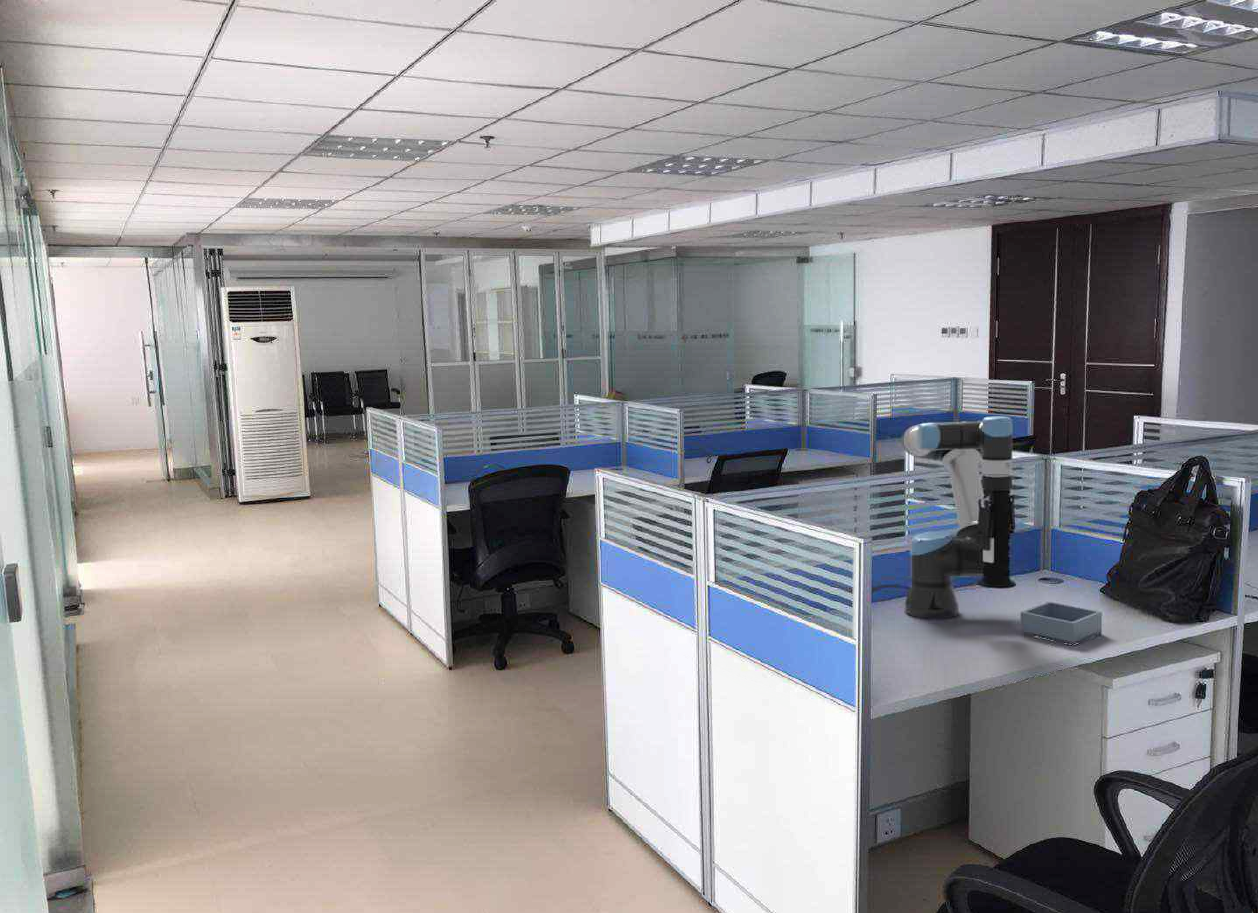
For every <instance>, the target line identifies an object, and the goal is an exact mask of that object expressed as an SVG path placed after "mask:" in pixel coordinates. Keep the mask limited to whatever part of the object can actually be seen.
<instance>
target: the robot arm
mask: <svg viewBox="0 0 1258 913" xmlns="http://www.w3.org/2000/svg"><path fill="white" fill-rule="evenodd" d="M1013 433H1014V429H1013V419H1012V418H1011V417H1009V416H1001V415H1000V416H998V415H997V416H995V415H994V416H986V417H984V418H983V419H981V420H979V421H965V420H964V421H963V420H962V421H953V422H952V421H950V422H925V423H920V424H916V425H913V426H910V427H909V428H908V429H906V430H905V431H904V433H903V434H902V439H901V442H902V443H901V444H902V447H903V448H904V451H906V452H907V453H908V454H909V455H911V456H912V457H915V458H917V459H923V460H941V463H942V465H943V467H944V468H945V469H947V470H948V473H949V479H950V484H951V490H952V494H953V495H952V496H953V500H954V505H955V506H954V507H955V511H956V515H957V516H956V517H957V518H956V519H957V522H958V528H959V529H958V530H957V531H956V532H955V536H954V535H953V533H952V532H951V531H947V530H932V531H925V532H922V533H918V534H916V535H915V536H913V537H912V539H911V541H910V550H909V554H910V586H909V589H908V592H907V596H906V598H905V601H904V612H905V613H906V614H908V615H909V616H912V617H917V618H921V619H922V618H923V619H933V620H937V619H938V620H940V619H941V620H942V619H948V618H953V617H956V616H958V615H959V614H960V608H959V606H960V605H959V603H958V600H957V597H956V594H955V591H954V589H953V578H968V577H969V578H972V577H973V578H974V577H975V578H978V577H979V578H982V577H983V576H984V575H983V568H984V566H983V563H984V562H990V563H993V562H994V538H992V534H993V529H994V524H995V521H994V519H995V513H996V511H997V509H996V510H994V511H993V515H992V512H990V504H989V502H990V503H991V505H992V504H993V505H994V494H993V492H995V491H1008V490H1010V491H1011V490H1012V488H1013V476H1012V475H1011V474H1012V473H1013V460H1012V459H1013ZM980 462H981V474H983V475H982V476H980V471H979V466H978V464H979V463H980ZM983 490H986V495H985V499H983V497H984V492H983ZM1009 496H1010V506H1011V507H1010V520H1009V521H1010V528H1009V529H1010V532H1009V533H1010V535H1012V534H1014V533H1015V530H1016V518H1015V517H1016V514H1015V498H1016V495H1015V494H1013V493H1010V495H1009ZM1009 541H1010V543H1011V539H1010V540H1009ZM1010 543H1009V545H1010V546H1011V544H1010ZM1010 552H1011V551H1010ZM1010 552H1009V553H1010ZM1010 556H1011V553H1010V555H1009V557H1010ZM1010 558H1011V557H1010ZM983 561H984V562H983Z"/></svg>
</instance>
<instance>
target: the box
mask: <svg viewBox="0 0 1258 913" xmlns="http://www.w3.org/2000/svg"><path fill="white" fill-rule="evenodd" d="M1102 615H1103V614H1102V611H1098V610H1094V609H1089V608H1085V607H1079V606H1073V605H1069V604H1063V603H1058V602H1052V601H1047V602H1045V603H1042V604H1038V605H1036V606H1034V607H1030V608H1028V609H1025V610H1022V611H1020V619H1019V620H1020V621H1019V622H1020V624H1019V626H1020V628H1019V630H1020V631H1019V632H1020V633H1021V634H1020V635H1023V634H1024V636H1027V635H1029V636H1028V637H1032V636H1038V637H1041V638H1046V639H1049V640H1053V641H1056V642H1055V643H1058V642H1060V643H1059V644H1062V643H1067V644H1071V645H1074V644H1076V643H1079V644H1082V643H1083V642H1082V641H1084V642H1086V641H1088V640H1090V639H1089V638H1091V637H1093V636H1095V637H1097V635H1098V636H1099V634H1100V635H1102V626H1103V625H1102V624H1103V622H1102V619H1103V618H1102ZM1093 638H1094V637H1093ZM1087 639H1088V640H1087ZM1091 639H1092V638H1091ZM1049 640H1048V641H1049ZM1085 640H1086V641H1085ZM1053 641H1052V642H1053ZM1067 644H1066V645H1067ZM1071 645H1070V646H1071Z"/></svg>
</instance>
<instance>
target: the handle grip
mask: <svg viewBox="0 0 1258 913" xmlns="http://www.w3.org/2000/svg"><path fill="white" fill-rule="evenodd" d="M983 494H984V497H983V499H985V495H986V490H984V489H983ZM993 494H994V505H993V504H992V505H991V503H990V502H989V504H990V512H992V515H993V511H994V510H996V509H997V511H996V513H995V519H994V521H995V524H994V529H993V534H992V538H994V562H993V563H990V562H984V561H983V562H984V563H983V566H984V568H983V575H984V576H983V577H981V578H979V579H978V580H976V585H978V586H980V587H983V588H988V589H999V590H1000V589H1011V588H1015V587H1016V586H1017V583H1016V582H1015V581H1013V579H1011V577H1010V575H1011V574H1010V567H1011V565H1010V562H1011V557H1009V555H1010V556H1011V553H1009V552H1011V544H1010V545H1009V543H1011V533H1009V532H1010V529H1009V528H1010V525H1011V524H1010V521H1009V520H1010V507H1011V506H1010V496H1009V495H1010V494H1011V490H1008V491H995V492H993ZM1009 540H1010V541H1009Z"/></svg>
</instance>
